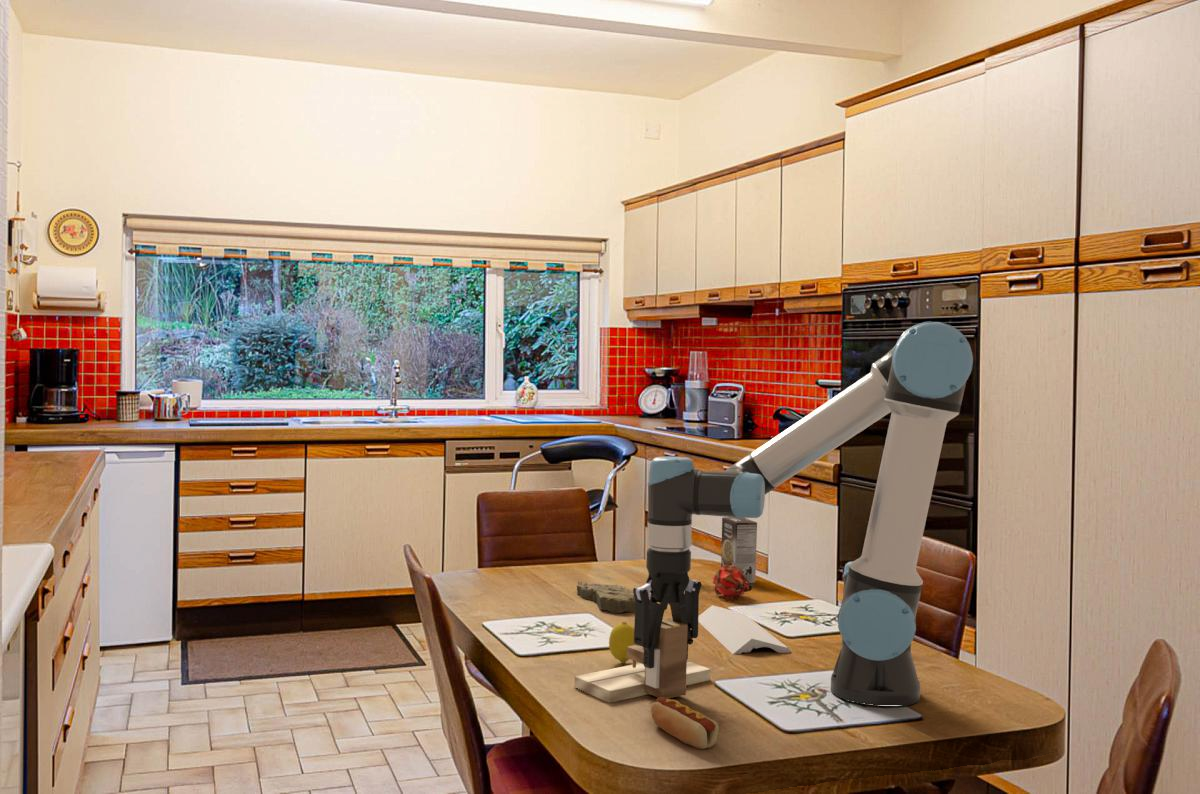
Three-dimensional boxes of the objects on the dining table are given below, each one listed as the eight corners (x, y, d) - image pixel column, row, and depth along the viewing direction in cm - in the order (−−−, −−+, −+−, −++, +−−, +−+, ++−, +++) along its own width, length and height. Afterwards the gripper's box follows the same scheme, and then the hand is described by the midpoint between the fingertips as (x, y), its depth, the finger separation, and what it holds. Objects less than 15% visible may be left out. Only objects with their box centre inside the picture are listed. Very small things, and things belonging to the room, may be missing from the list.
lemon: (628, 669, 196) (629, 626, 196) (603, 664, 199) (603, 622, 199) (643, 662, 201) (644, 620, 201) (618, 657, 204) (619, 616, 204)
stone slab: (657, 609, 243) (654, 588, 243) (610, 622, 238) (607, 601, 238) (609, 591, 267) (606, 571, 267) (566, 602, 262) (562, 583, 262)
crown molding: (791, 655, 210) (792, 637, 210) (732, 657, 208) (732, 639, 208) (746, 620, 239) (746, 604, 239) (693, 621, 237) (694, 605, 236)
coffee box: (719, 576, 284) (721, 517, 284) (741, 575, 286) (743, 516, 285) (733, 583, 275) (735, 522, 275) (756, 582, 277) (757, 521, 277)
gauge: (686, 694, 180) (688, 623, 180) (663, 699, 177) (665, 627, 176) (641, 676, 190) (643, 608, 189) (619, 681, 187) (621, 612, 186)
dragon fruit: (723, 597, 266) (741, 615, 254) (699, 579, 263) (716, 597, 252) (744, 570, 266) (763, 587, 255) (720, 552, 263) (738, 568, 252)
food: (726, 749, 157) (727, 716, 156) (696, 756, 154) (697, 722, 154) (672, 721, 169) (673, 690, 168) (643, 727, 166) (644, 695, 166)
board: (710, 680, 190) (710, 668, 190) (609, 702, 176) (609, 690, 176) (673, 666, 198) (673, 655, 198) (574, 687, 184) (574, 675, 184)
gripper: (693, 540, 188) (690, 669, 189) (613, 548, 177) (609, 686, 178) (722, 546, 182) (719, 680, 183) (641, 556, 171) (637, 698, 172)
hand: (665, 683), depth 180 cm, fingers closed on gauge, 5 cm apart
